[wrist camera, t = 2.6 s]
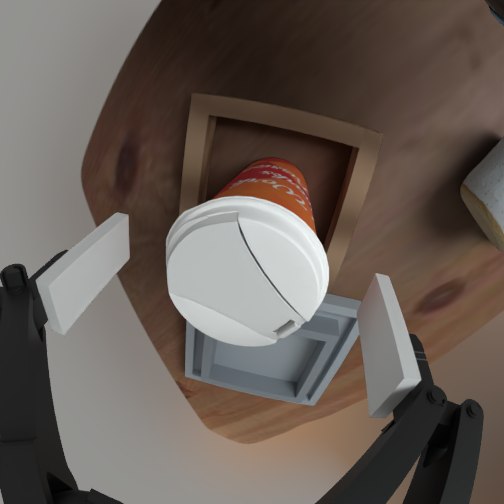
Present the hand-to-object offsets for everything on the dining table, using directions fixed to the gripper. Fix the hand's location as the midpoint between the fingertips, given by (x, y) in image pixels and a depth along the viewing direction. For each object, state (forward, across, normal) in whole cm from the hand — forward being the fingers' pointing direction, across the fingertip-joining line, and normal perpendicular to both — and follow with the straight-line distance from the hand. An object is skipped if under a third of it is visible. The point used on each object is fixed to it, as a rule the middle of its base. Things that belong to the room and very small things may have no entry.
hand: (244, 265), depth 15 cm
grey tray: (+12, +3, -18) cm, 21 cm away
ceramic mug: (+12, +21, +7) cm, 25 cm away
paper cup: (+12, 0, 0) cm, 12 cm away
